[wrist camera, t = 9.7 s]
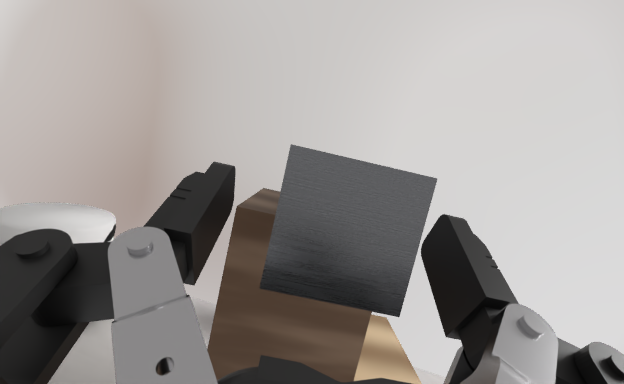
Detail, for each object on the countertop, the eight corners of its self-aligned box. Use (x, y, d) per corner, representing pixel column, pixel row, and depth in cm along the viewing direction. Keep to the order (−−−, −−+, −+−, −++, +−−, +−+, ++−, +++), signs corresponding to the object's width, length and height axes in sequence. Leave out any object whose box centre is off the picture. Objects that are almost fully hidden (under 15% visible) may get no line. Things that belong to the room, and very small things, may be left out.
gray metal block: (399, 317, 8) (437, 178, 7) (259, 288, 8) (290, 144, 7) (325, 197, 34) (333, 165, 33) (293, 190, 34) (300, 157, 33)
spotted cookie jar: (126, 295, 59) (139, 213, 57) (67, 353, 42) (84, 238, 40) (32, 283, 56) (44, 196, 54) (-72, 339, 39) (-60, 215, 37)
